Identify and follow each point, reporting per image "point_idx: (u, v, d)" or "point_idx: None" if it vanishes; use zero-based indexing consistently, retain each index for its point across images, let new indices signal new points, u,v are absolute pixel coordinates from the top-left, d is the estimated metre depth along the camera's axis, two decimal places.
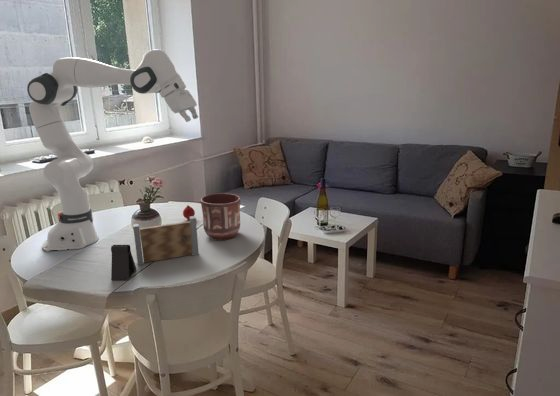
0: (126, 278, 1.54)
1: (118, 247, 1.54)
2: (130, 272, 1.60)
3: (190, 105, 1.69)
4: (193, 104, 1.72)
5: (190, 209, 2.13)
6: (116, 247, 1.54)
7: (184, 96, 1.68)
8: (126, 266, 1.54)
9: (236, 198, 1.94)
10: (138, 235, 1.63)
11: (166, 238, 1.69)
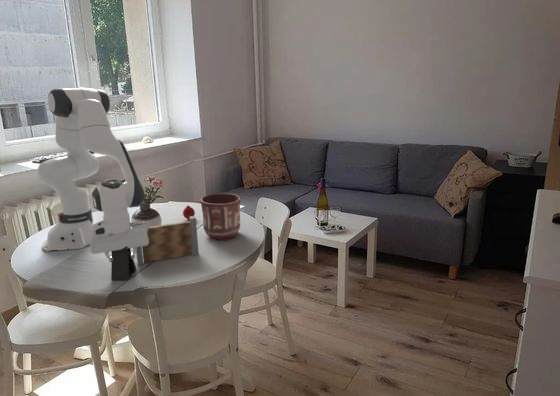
0: (126, 278, 1.54)
1: None
2: (130, 272, 1.59)
3: (124, 247, 1.54)
4: (135, 245, 1.55)
5: (190, 209, 2.13)
6: None
7: (122, 237, 1.53)
8: (126, 266, 1.54)
9: (236, 198, 1.94)
10: None
11: (166, 238, 1.69)
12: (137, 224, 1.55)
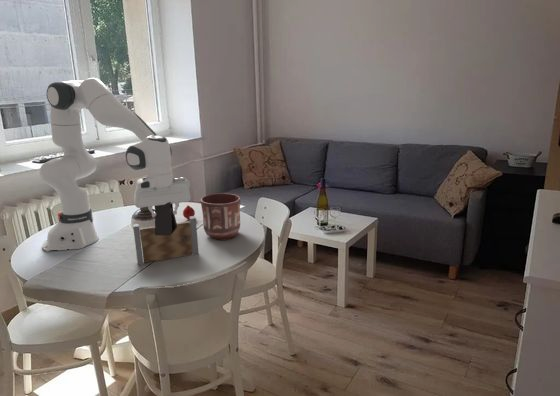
0: (169, 233, 1.57)
1: None
2: (172, 229, 1.63)
3: (167, 202, 1.57)
4: (178, 201, 1.59)
5: (190, 209, 2.13)
6: None
7: (166, 192, 1.57)
8: (169, 221, 1.58)
9: (236, 198, 1.94)
10: (138, 235, 1.63)
11: (166, 238, 1.69)
12: (179, 180, 1.58)
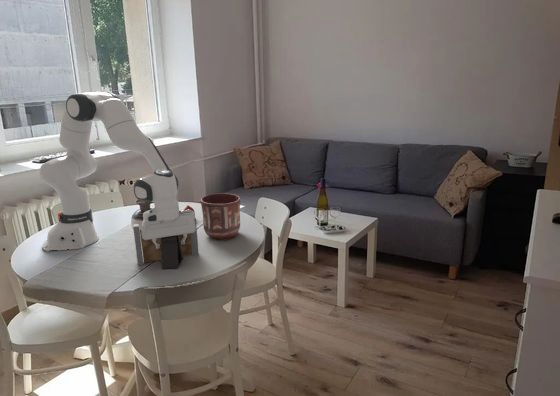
0: (176, 266, 1.62)
1: (168, 237, 1.62)
2: (178, 261, 1.68)
3: (173, 234, 1.62)
4: (183, 232, 1.63)
5: (190, 209, 2.13)
6: (166, 237, 1.62)
7: (172, 224, 1.61)
8: (176, 255, 1.62)
9: (236, 198, 1.94)
10: (138, 235, 1.63)
11: None
12: (185, 212, 1.63)
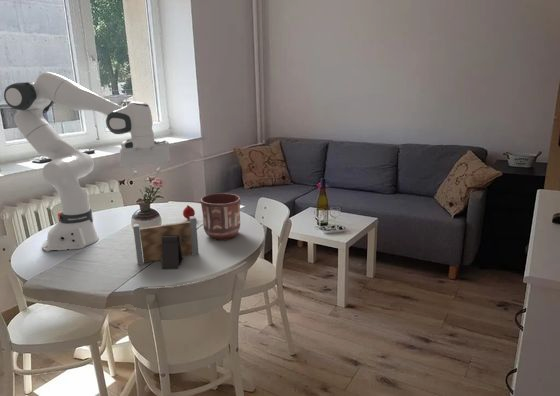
0: (176, 267, 1.62)
1: (168, 237, 1.62)
2: (178, 261, 1.68)
3: (149, 162, 1.76)
4: (158, 161, 1.77)
5: (190, 209, 2.13)
6: (167, 237, 1.62)
7: (148, 152, 1.75)
8: (176, 255, 1.62)
9: (236, 198, 1.94)
10: (138, 235, 1.63)
11: None
12: (160, 142, 1.77)
